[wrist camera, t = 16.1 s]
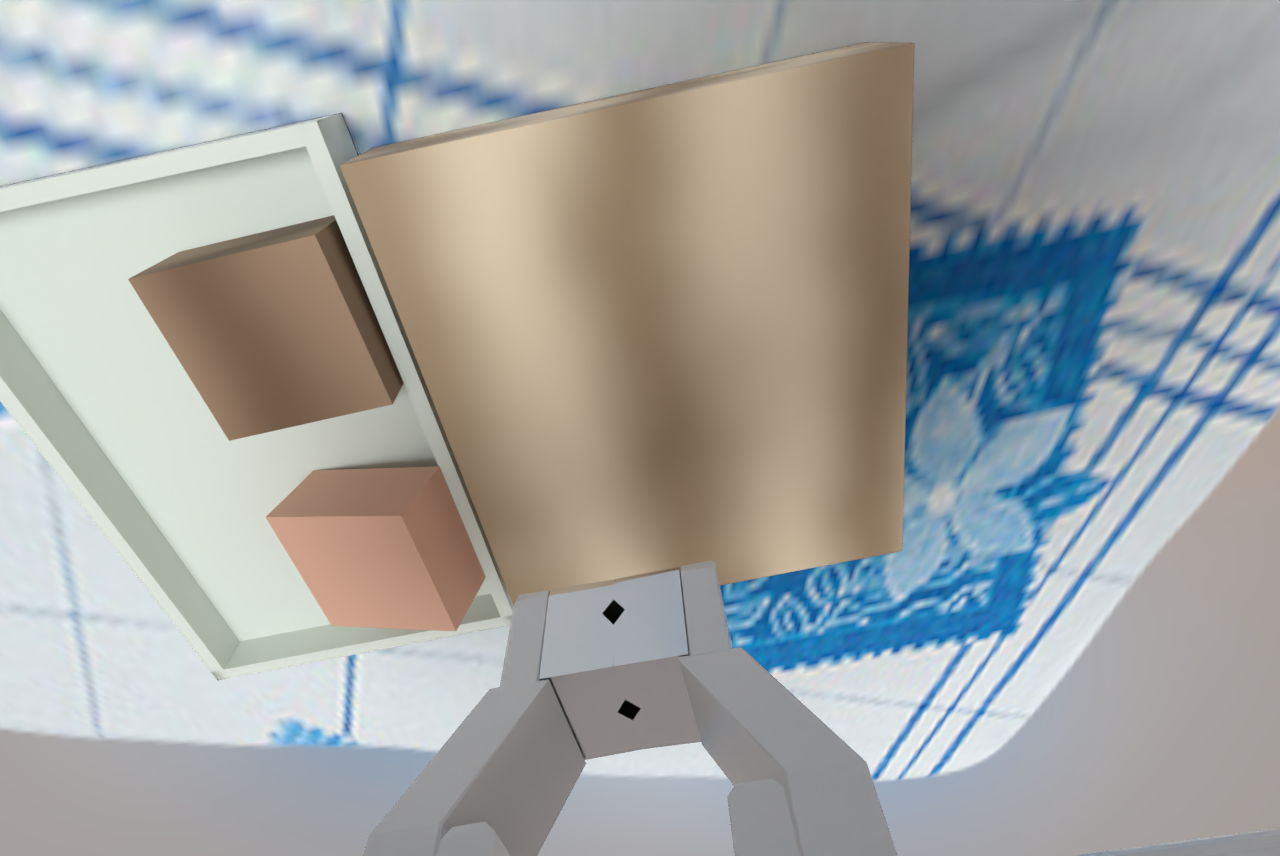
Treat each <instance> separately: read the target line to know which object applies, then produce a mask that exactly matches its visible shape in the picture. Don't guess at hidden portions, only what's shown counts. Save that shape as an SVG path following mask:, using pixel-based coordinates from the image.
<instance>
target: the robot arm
mask: <svg viewBox="0 0 1280 856" xmlns="http://www.w3.org/2000/svg"><path fill="white" fill-rule="evenodd" d="M694 742H702V745H703V746H704V748H705V749H706V750H707V751H708V753H709V754H710V755H711V757H712V758H713V759H714V761H715V762H716V763H717V764H718V766H719V767H720V768H721V770H722V771H723V772H724V774H725V775H726V776H727V777H728V779H729V780H730V781H731V783H732V784H733V785H734V788H733V789H732V791H731V792H730V794H729V795H728V806H729V813H730V822H731V830H732V838H733V846H734V853H735V856H898V855H897V852H896V849H895V846H894V843H893V840H892V837H891V834H890V831H889V828H888V825H887V822H886V820H885V816H884V814H883V810H882V807H881V804H880V801H879V799H878V795H877V792H876V789H875V786H874V783H873V780H872V778H871V775H870V772H869V769H868V766H867V763H866V761H864V760H863V759H862V758H861V757H860V756H859V755H858V754H857V753H856V752H855V751H854V750H852V749H851V748H850V747H849V746H848V745H847V744H846V743H845V742H844V741H843V740H842V739H841V738H839V737H838V736H837V735H836V734H835V733H834V732H833V731H832V730H831V729H830V728H829V727H827V726H826V725H825V724H824V723H823V722H822V721H821V720H820V719H819V718H818V717H817V716H815V715H814V714H813V713H812V712H811V711H810V710H809V709H808V708H807V707H806V706H805V705H803V704H802V703H801V702H800V701H799V700H798V699H797V698H796V697H795V696H794V695H793V694H791V693H790V692H789V691H788V690H787V689H786V688H785V687H784V686H783V685H782V684H781V683H779V682H778V681H777V680H776V679H775V678H774V677H773V676H772V675H771V674H770V673H769V672H767V671H766V670H765V669H764V668H763V667H762V666H761V665H760V664H759V663H758V662H757V661H755V660H754V659H753V658H752V657H751V656H750V655H749V654H748V653H747V652H746V651H745V650H744V649H742V648H741V647H739V648H733V647H732V642H731V637H730V632H729V628H728V623H727V618H726V613H725V608H724V603H723V599H722V594H721V589H720V584H719V579H718V574H717V570H716V565H715V562H714V561H713V560H711V561H706V562H701V563H696V564H690V565H685V566H681V568H680V567H676V568H671V569H665V570H660V571H655V572H649V573H644V574H639V575H634V576H628V577H623V578H618V579H614V580H608V581H601V582H595V583H588V584H582V585H575V586H569V587H562V588H556V589H552V590H548V591H541V592H535V593H528V594H521V595H519V596H518V598H517V600H516V602H515V603H514V608H513V614H512V620H511V626H510V631H509V637H508V643H507V649H506V654H505V660H504V666H503V671H502V677H501V683H500V687H499V688H494V689H490V690H489V691H488V692H487V693H486V695H485V696H484V697H483V698H482V699H481V701H480V702H479V703H478V704H477V705H476V707H475V708H474V709H473V710H472V711H471V713H470V714H469V715H468V716H467V718H466V719H465V720H464V721H463V722H462V724H461V725H460V726H459V727H458V728H457V730H456V731H455V732H454V733H453V734H452V736H451V737H450V738H449V739H448V741H447V742H446V743H445V744H444V745H443V747H442V748H441V749H440V750H439V751H438V753H437V754H436V755H435V756H434V757H433V759H432V760H431V761H430V762H429V764H428V765H427V766H426V767H425V768H424V770H423V771H422V772H421V773H420V774H419V776H418V777H417V778H416V779H415V780H414V782H413V783H412V784H411V785H410V787H409V788H408V789H407V790H406V791H405V793H404V794H403V795H402V796H401V797H400V799H399V800H398V801H397V802H396V803H395V805H394V806H393V807H392V808H391V810H390V811H389V812H388V814H386V816H385V817H384V818H383V819H382V820H381V822H380V823H379V824H378V825H377V826H376V828H375V829H374V830H373V831H372V833H371V834H370V835H369V837H368V841H367V844H366V847H365V850H364V854H363V856H537V855H538V853H539V851H540V849H541V847H542V845H543V843H544V842H545V840H546V838H547V836H548V834H549V832H550V830H551V828H552V827H553V824H554V823H555V821H556V819H557V817H558V815H559V813H560V811H561V810H562V808H563V806H564V804H565V802H566V800H567V798H568V796H569V795H570V793H571V791H572V789H573V787H574V785H575V783H576V781H577V779H578V778H579V776H580V774H581V772H582V770H583V768H584V766H585V764H586V762H585V760H587V759H592V758H597V757H603V756H608V755H614V754H619V753H624V752H630V751H635V750H640V749H647V748H655V747H663V746H671V745H679V744H687V743H694ZM1076 856H1280V828H1275V829H1268V830H1260V831H1253V832H1246V833H1238V834H1231V835H1224V836H1216V837H1209V838H1201V839H1194V840H1186V841H1179V842H1172V843H1164V844H1157V845H1150V846H1143V847H1135V848H1128V849H1120V850H1113V851H1106V852H1098V853H1091V854H1084V855H1076Z"/></svg>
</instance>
